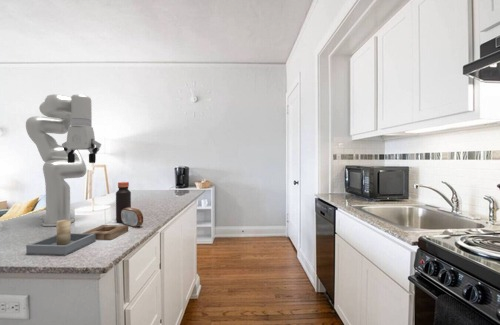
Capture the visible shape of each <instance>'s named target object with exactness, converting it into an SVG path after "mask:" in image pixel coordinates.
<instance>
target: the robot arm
mask: <svg viewBox="0 0 500 325" xmlns="http://www.w3.org/2000/svg"><path fill="white" fill-rule="evenodd" d="M38 108H39V112H40V113H41V115H43V116H40V115H39V116H30V117H29V118H27V119H26V121H25V128H26V129H25V130H26V133H27V135H28V137H29V138H30V140H31V141H32V143H34V144H35V146H36V148H37V151H38V152H39V155H40V158H41V159H42V161H43V162H44V164H43V165H42V172H43V176H44V184H45V214H42V215H41V216H40V217H39V220H43V222H41V226H42V227H57V221H60V220H70V224H72V223H74V222H75V219H74V218H73V217H71V187H70V185H69V183H68V182H66V180H65V179H77V178H78V179H79V178H82V177H84V176H86V174H87V165H86V163H85V161H84V158H83V157H82V155H81V153H80V151H81V150H85V151H86V150H87V151H88V152H89V153H88V163H89V164H95V163H96V160H97V159H96V155H97V154H98V152H99V151H100V149H101V146H102V143H101V142H98V141H96V138H95V131H94V127H93V126H92V123H93V122H92V120H93V118H92V114H93V113H92V99H91V97H90V96H88V95H84V94H72V95H71V96H67V95H64V94H63V95H62V94H53V93H52V94H49V95H47V96H46V97H45V99H44V101H43V102H41V104H40V105H39V107H38ZM50 134H54V135H55V134H56V135H64V134H66V135H67V136H66V141H65V142H62V143H61V145H60V144H58V142H57V140H56V139H55V138H54V137H53V136H52V135H50Z"/></svg>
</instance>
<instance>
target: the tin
mask: <svg viewBox="0 0 500 325" xmlns="http://www.w3.org/2000/svg"><path fill="white" fill-rule="evenodd" d="M121 220H122V222H123V223H122V224H124V225H128V227H133V228H137V227H141V226H142V225H143V223H144V215H143V213H142V211H141V210H140V209H139V208H134V207H131V208H130V207H127V208H124V209H122V211H121Z"/></svg>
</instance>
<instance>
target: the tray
mask: <svg viewBox="0 0 500 325" xmlns="http://www.w3.org/2000/svg"><path fill="white" fill-rule="evenodd" d="M96 241H97V240H96V234H89V233H84V232H81V233H80V232H79V233H78V232H77V233H76V232H70V244H67V245H57V234H55V235H51V236H48V237H47V238H43V239H41V240H37V241H35V242H32V243H29V244H27V245H25V247H26V248H25V252H26V253H25V254H26V255H37V256H40V255H41V256H42V255H43V256H68V255H70V254H72V253H74V252H77V251H78V250H80V249H83V248H85V247H86V246H87V247H88V246H89V245H91V244H93V243H95V242H96Z"/></svg>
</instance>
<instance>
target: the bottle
mask: <svg viewBox="0 0 500 325" xmlns="http://www.w3.org/2000/svg"><path fill="white" fill-rule="evenodd" d="M129 187H130V184H129V182H128V181H121V182H117V188H118V190H117V191H116V192H115V222H116V223H117V224H124V223H123V222H122V220H121V211H122V209H124V208H127V207H130V208H132V192H131V190H130V189H129Z"/></svg>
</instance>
